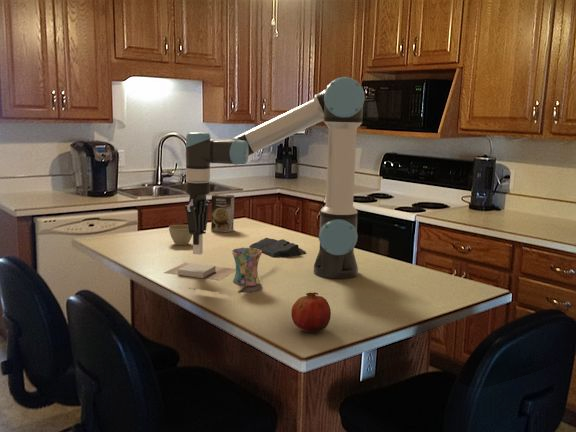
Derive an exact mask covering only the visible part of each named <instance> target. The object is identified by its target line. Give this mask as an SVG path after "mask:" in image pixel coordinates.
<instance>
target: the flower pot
mask: <svg viewBox="0 0 576 432" xmlns="http://www.w3.org/2000/svg"><path fill="white" fill-rule="evenodd" d="M168 231H169V234H170V238H171V240H172V242H173V243H174V245H176V246H187V245H189V243H190V241H191V240H192V239H193V234H190V233H189V228H188V224H173V225H169V226H168Z"/></svg>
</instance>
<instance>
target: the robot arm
mask: <svg viewBox="0 0 576 432" xmlns="http://www.w3.org/2000/svg"><path fill="white" fill-rule="evenodd" d="M365 96H366V95H365V90H364V87H363V86H362V84H360V82H359V81H357V80H356V79H355V78H352V77H350V76H343V77H342V76H340V77H336V78H334V79H333V80H331V82H329V83H328V85H327V86H326V87H325V89H323V90H322V91H320V92H319V93H317V94H314V96H313V99H311V100H309V101H307V102H305V103H303V104H301V105H299V106H296V107H294V108H292V109H290V110H289V111H286V112H284V113H283V114H280V115H278V116H276V117H274V118H272V119H270V120H268V121H265V122H264V123H261V124H259V125H257V126H255V127H253V128H251V129H250V130H247V131H245V132H243V133H240V134H238V135H236V136H234V137H232V138H230V139H215V138H211V134H210V133H209V132H200V131H199V132H198V131H195V132H193V131H191V132H188V133H187V134H186V138H185V139H186V140H185V180H186V182H185V192H186V194H187V195H189V200H188V203H189V204H188V205H185V206H184V209H185V213H186V218H187V225H188V228H189V233H190V234H193V235H192V255H199V256H202V255H203V253H204V252H203V249H204V248H203V246H204V242H203V240H204V238H203V236H204V235H205V234H206V233H207V226H208V217H209V209H210V205H211V201H210V200H208V199H207V195H209V194H210V193H211V188H210V187H211V183H210V182H209V181H210V180H211V164H224V165H225V164H226V165H227V164H228V165H246V164H247V163H248V160H249V156H251V155H254V154H255V153H257V152H259V151H261V150H263V149H266V148H268V147H270V146H271V145H273V144H277V143H278V142H280V141H283V140H284V139H287V138H290V137H291V136H293V135H295V134H298V133H300V132H301V131H303V130H306V129H307V128H310V127H312V126H315V125H317V124H319V123H321V122H323V123H324V124H325V125H326V126H327V127H328V133H327V135H328V136H327V137H328V140H327V164H326V187H325V188H326V189H325V205H324V206H322V208H321V209H320V213H319V215H320V217H319V220H320V221H319V232H318V242H319V251H318V253H317V256H316V259H315V261H314V264H313V274H315V275H317V276H319V277H322V278H327V279H328V278H329V279H339V280H340V279H351V278H355V277H356V276H358V273H359V267H358V264H357V263H358V262H357V260H356V256H355V252H354V249H355V246H356V245H357V242H358V238H359V236H358V213H359V211H358V210H357V209H356V208H355V206H354V198H355V197H354V190H355V173H356V151H357V132H358V131H357V130H358V128H359V127H360V126H361V125H362V124H363V112H364V111H363V110H364V103H365V99H366V97H365ZM203 234H204V235H203Z"/></svg>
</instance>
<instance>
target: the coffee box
mask: <svg viewBox="0 0 576 432" xmlns="http://www.w3.org/2000/svg"><path fill="white" fill-rule="evenodd" d="M210 213H211V220H210V221H211V223H210V224H211V225H210V226H211V227H210V231H211V230H212V231H211V232H220V231H226V232H225V233H231V232H233V231H234V230H233V229H234V225H235V223H234V220H235V219H234V217H235V216H234V215H235V195H234V194H233V195H232V194H221V193H220V194H219V193H218V194H217V193H215V194H212V195H211V212H210ZM230 231H231V232H230Z"/></svg>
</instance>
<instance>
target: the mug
mask: <svg viewBox="0 0 576 432" xmlns="http://www.w3.org/2000/svg"><path fill="white" fill-rule="evenodd" d="M231 253H232V256H233V258H234V264H235V269H236V271H235V272H234V277H233V280H232V283H233V284H234V285H238V286H244V287H248V286H254V285H257V284H259V283H261V280H260V277H259V271H258V266H259V260H260V257H261V256H262V254H263V253H262V251H261V250H259V249H255V248H250V247H239V248H238V247H237V248H234V249H232V251H231Z"/></svg>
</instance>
